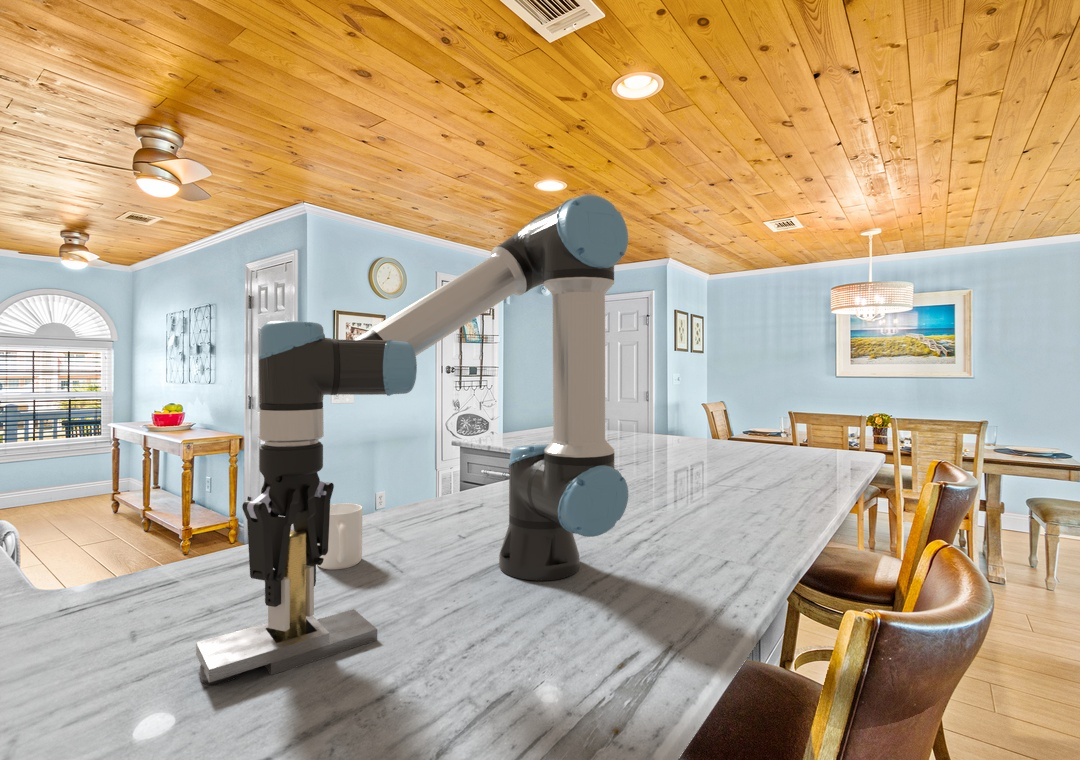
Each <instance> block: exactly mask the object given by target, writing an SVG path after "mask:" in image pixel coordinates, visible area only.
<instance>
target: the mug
mask: <svg viewBox="0 0 1080 760" xmlns="http://www.w3.org/2000/svg"><path fill="white" fill-rule="evenodd" d="M317 545H320V544H319V543H317ZM362 557H363V506H362V505H360V504H356V503H344V502H343V503H333V504H331V503H330V519H329V542H328V552H327V554H326V555H322V556H321V557H320V558H324V560H323V563H322V564H321V565H317V566H318V567H319V568H320V569H323V570H328V571H329V570H330V571H331V570H333V571H335V570H336V571H337V570H344V569H348V568H352V567H355V566H356V565H358V564H359V563H360V562H361V560H362Z"/></svg>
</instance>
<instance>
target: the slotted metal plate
mask: <svg viewBox="0 0 1080 760" xmlns="http://www.w3.org/2000/svg"><path fill="white" fill-rule="evenodd" d="M376 641H378V629H377V628H376V627H375V626H374V625H373V624H372V623H371V622H370V621H368V619H366V618H365V617H364V616H362V614H360V613H359V612H358V611H357V610H355V608H354V609H350V610H346V611H343V612H339V613H336V614H332V615H329V616H325V617H322V618H319V619H318V618H317V619H316V617H315V616H314V615H312V616H310V617H308V616H306V635H302V636H299V637H296V638H292V639H289V640H286V641H282V642H279V643H276V629H271V628H268V622H266V623H262V624H258V625H253V626H250V627H248V628H246V627H245V628H244V629H239V630H236V631H231V632H228V633H225V634H222V635H217V636H213V637H211V638H207V639H203V640H199V641H196V642H195V643H196V644H195V645H196V646H195V652H196V653H195V655H196V657H197V659H198V661H199V663H200V667H199V677H200V678H199V680H200V683H202V684H203V685H208V686H215V685H221V684H225V683H228V682H230V681H232V680H234V679H236V678H238V677H239V676H240V675H241V674H242V673H244V672H248V671H251V670H255V669H257V668H259V667H263V666H264V667H265V669H266V670H267V672H268V673H269V675H270V676H273V675H277V674H279V673H282V672H285V671H288V670H292V669H294V668H297V667H300V666H301V667H302V666H304V665H306V664H309V663H313V662H315V661H318V660H321V659H324V658H327V657H331V656H333V655H337V654H339V653H342V652H345V651H349V650H352V649H355V648H357V647H360V646H363V645H367V644H370V643H372V642H376Z"/></svg>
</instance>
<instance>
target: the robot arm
mask: <svg viewBox="0 0 1080 760" xmlns="http://www.w3.org/2000/svg"><path fill="white" fill-rule="evenodd" d="M628 244H629V232H628V227H627V223H626V220H625V219H624V217H623V215H622V213H621V212H620V211H619V210H617V209H616V207H615V205H614V204H613V203H612V202H611V201H609V199H606V198H605V197H601V196H598V195H597V194H584V195H579V196H577V197H573V198H569V199H568V200H565V201H564V202H563V203H562V204H561V205H558V206H555V207H554V208H553V209H550V210H547V212H546V211H545V212H544V213H542V214H539V215H538V216H536V217H534V218H533V219H532V220H530V221H529V222H528V223H527V224H525V225H524V226H523V227H521V229H519V230H518V231H516V232H515V233H514V234H512V235H511V236H510V237H509V238H507V239H506V240H504V241H502V242H501V243H500V244H499V245H497V246H494V247H493V248H492V249H491V251H490V255H489V257H488V258H487V259H485V260H483V261H482V262H479V263H478V264H477V265H475V266H473V267H471V268H470V269H468V270H466V271H465V272H463V273H462V274H459V275H458V276H456V277H455V278H453V279H451V280H450V281H448V282H446V283H445V284H443V285H441V286H439V287H438V288H437V289H435V290H434V291H431V292H430V293H428V294H426V295H425V296H423V297H421V298H420V299H418V300H416V301H415V302H413V303H411V304H410V305H408V306H407V307H405V308H403V309H402V310H399V311H398V312H396V313H394V314H393V315H392V316H390V317H388V318H386V319H385V320H384V321H382V322H380V323H378V324H377V325H375V326H373V327H372V328H370V330H367V331H365V332H364V333H362V334H359V336H357V337H355V338H354V339H336V338H329V337H326V335H325V332H324V327H323V326H322V324H320V323H319V322H318V323H317V322H314V321H313V322H311V321H297V320H296V321H295V320H271V321H268V322H266V323H264V325H262V326H261V329H260V335H259V336H260V337H259V351H258V354H259V355H258V372H259V373H258V377H259V379H258V382H259V383H258V385H259V391H258V392H259V440H261V441H262V442H264V443H262V444H261V445H260V447H258V449H259V452H258V453H259V457H258V459H259V461H258V462H259V463H258V464H259V465H258V467H259V469H258V471H259V472H260V474H261V475H262V476H263V484H262V486H261V491H260V495H258V496H257V497H256V498H255V499H253V500H245V501H244V502H243V503H242V505H241V508H242V511H243V513H244V516H245V518H246V523H247V542H248V562H249V563H248V564H249V577H250V578H251V579H253V580H259V581H263V582H264V602H265V605H266V606H267V607H268V608H267V623H268V628H271V629H276V630H280V631H287V630H288V629H290V578H288V577H284V575H285V568H286V560H287V553H288V545H289V538H290V531H291V528H292V525H293V530H300V531H305V532H306V616H308V617H310V616H312V615H313V616H314V615H315V610H314V609H315V602H314V601H315V596H314V595H315V586H316V583H317V566H318V565H321V564H322V563H323V560H324V558H320V557H321V556H322V555H326V554H327V552H328V542H329V519H330V505H331V499H332V496H333V492H334V488H335V485H334V483H333V482H327V481H321V480H320V477H319V473H318V472H320V471H321V470H322V469H323V467H324V444H323V443H322V442H321V441H319V440H320V439H322V438H323V437H324V432H325V431H324V396H325V395H326V396H329V395H330V396H337V395H339V396H340V395H342V396H343V395H345V396H346V395H350V396H351V395H353V396H355V395H356V396H358V395H359V396H360V395H361V396H366V395H367V396H370V395H371V396H373V395H374V396H375V395H379V396H380V395H384V396H385V395H386V396H389V397H390V396H392V395H404V394H405V395H406V394H408V393H409V394H410V392H411V391H413V389H414V388H415V384H416V380H417V372H418V371H417V370H418V369H417V366H418V363H417V356H418V355H420V354H421V353H423V352H425V351H426V350H427V349H429V348H430V347H432V346H434V345H436V344H437V343H439V342H440V341H441V340H443V339H445V338H446V337H448V336H449V335H451V334H453V333H454V332H456V331H457V330H459V329H461V328H462V327H464V326H465V325H467V324H468V323H470V322H471V321H473V320H475V319H476V318H478V317H479V316H481V315H482V314H483V313H486V312H487V311H488V310H491V308H494V307H495V306H496V305H498V304H499V303H501V302H503V301H504V300H506V299H507V298H509V297H511V296H512V295H515V296H522V295H524V294H526V293H528V291H530V290H531V289H534V288H537V287H538V286H542V285H543V286H544V288H546V289H547V290H548V292H549V293H550V294H551V295H552V296H551V297H552V400H553V402H552V406H553V407H552V410H553V411H552V413H553V418H552V419H553V422H552V425H553V427H552V428H553V430H552V433H553V437H552V440H551V442H550V443H548V444H547V443H546V444H545V443H544V444H531V445H530V444H529V445H528V444H527V445H519V446H515V447H513V448H512V449H511V450H510V455H509V463H508V468H509V470H508V473H509V475H508V476H509V477H508V479H509V480H508V481H509V485H508V486H509V487H508V490H509V491H508V493H509V494H508V495H509V496H508V497H509V498H508V501H509V502H508V503H509V504H508V515H509V516H508V528H507V531H506V533H505V537H504V538H503V542H502V545H501V548H500V552H499V555H498V556H499V557H498V558H499V559H498V560H499V563H498V566H499V569H500V571H502V572H503V573H504V574H506V575H507V576H510V577H513V578H516V579H519V580H520V579H521V580H525V581H542V582H543V581H555V580H560V579H564V578H568V577H571V576H572V575H575V574H576V573H577V572H578V571H579V570H580V553H579V550H578V547H577V546H578V545H577V542H576V539H575V536H574V534H577V535H578V536H583V537H587V538H590V537H599V536H601V535H603V534H604V535H605V534H606V533H607V532H609V531H610V530H612V529H613V528H614V527H615V526H616V524H617V523H618V522H619V521H620V520H621V519H622V517H623V515H624V514H625V511H626V509H627V507H628V501H629V487H628V482H627V481H626V479H625V477H623V476H622V473H621V472H620V471H619V470H618V469H616V468H615V448H614V447H613V446H612V445H611V444H610V443H609V442H608V441H607V439H606V293H607V292H608V291H609V290H610V288H612V287H613V285H614V284H615V266H616V265H617V264H618V262H619V261H621V259H622V258H623V257H624V256H625V254H626V253H627V252H626V251H627V249H628ZM317 543H319V544H320V545H317Z"/></svg>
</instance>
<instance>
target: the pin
mask: <svg viewBox="0 0 1080 760" xmlns="http://www.w3.org/2000/svg"><path fill="white" fill-rule="evenodd" d="M284 577H288V578H290V629H288V630H287V631H280V630H276V643H279V642H282V641H286V640H289V639H292V638H296V637H299V636H302V635H306V532H305V531H300V530H294V529H293V530H290V538H289V545H288V553H287V560H286V568H285V575H284Z"/></svg>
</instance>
